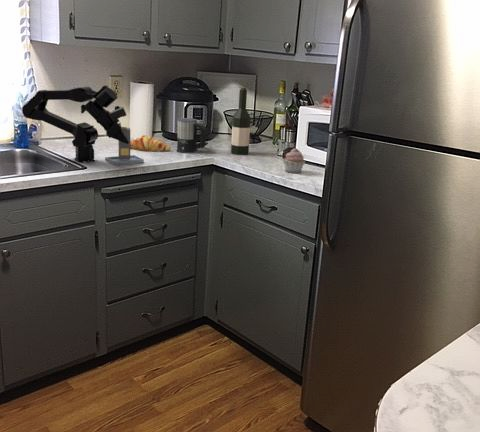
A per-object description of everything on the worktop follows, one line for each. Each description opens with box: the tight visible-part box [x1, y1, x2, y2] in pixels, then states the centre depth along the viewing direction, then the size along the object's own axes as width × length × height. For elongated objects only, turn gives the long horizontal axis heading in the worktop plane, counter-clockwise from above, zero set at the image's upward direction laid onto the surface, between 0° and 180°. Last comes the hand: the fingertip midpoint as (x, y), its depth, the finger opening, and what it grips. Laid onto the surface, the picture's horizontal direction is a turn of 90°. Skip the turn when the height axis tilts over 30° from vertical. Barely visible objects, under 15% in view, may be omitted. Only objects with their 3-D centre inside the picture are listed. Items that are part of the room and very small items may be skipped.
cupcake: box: [282, 147, 306, 174], centre depth 233 cm, size 9×9×10 cm
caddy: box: [117, 126, 131, 159], centre depth 231 cm, size 4×5×13 cm
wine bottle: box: [230, 87, 252, 156], centre depth 260 cm, size 8×8×30 cm
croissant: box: [130, 134, 171, 152], centre depth 260 cm, size 21×10×8 cm, turn 85°
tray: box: [104, 154, 145, 166], centre depth 233 cm, size 13×9×2 cm
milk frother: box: [176, 117, 209, 154], centre depth 263 cm, size 14×16×15 cm
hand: (127, 141), depth 231 cm, fingers closed on caddy, 5 cm apart
